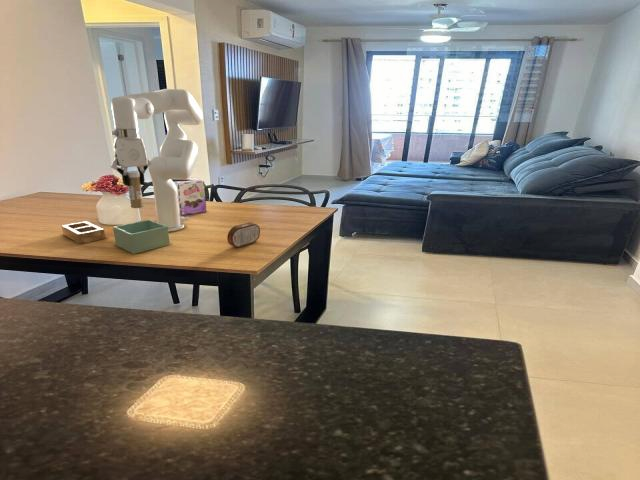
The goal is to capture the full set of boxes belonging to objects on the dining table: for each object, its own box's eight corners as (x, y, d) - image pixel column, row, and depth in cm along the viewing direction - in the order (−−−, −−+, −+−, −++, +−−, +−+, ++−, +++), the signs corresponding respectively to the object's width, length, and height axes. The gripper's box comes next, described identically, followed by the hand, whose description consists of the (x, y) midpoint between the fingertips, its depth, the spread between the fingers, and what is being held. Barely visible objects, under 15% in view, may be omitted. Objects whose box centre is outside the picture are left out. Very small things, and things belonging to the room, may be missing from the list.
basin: (151, 236, 159) (148, 219, 157) (169, 244, 150) (167, 226, 148) (115, 245, 148) (112, 226, 146) (133, 253, 140) (131, 234, 137)
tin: (256, 239, 159) (255, 220, 156) (261, 241, 157) (261, 221, 154) (227, 248, 148) (226, 227, 145) (232, 250, 146) (231, 229, 143)
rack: (87, 229, 166) (86, 221, 164) (105, 238, 155) (104, 229, 154) (63, 234, 159) (61, 225, 157) (80, 244, 148) (78, 234, 147)
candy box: (180, 216, 191) (177, 183, 185) (176, 213, 195) (173, 181, 190) (206, 212, 199) (204, 180, 194) (202, 209, 203) (199, 179, 198)
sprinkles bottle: (144, 207, 144) (140, 172, 140) (131, 209, 142) (126, 172, 137) (142, 205, 148) (138, 170, 143) (129, 206, 145) (124, 171, 141)
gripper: (107, 135, 127) (115, 189, 133) (155, 134, 140) (160, 183, 146) (97, 134, 132) (106, 186, 138) (145, 133, 144) (150, 180, 150)
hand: (134, 184), depth 142 cm, fingers closed on sprinkles bottle, 4 cm apart
